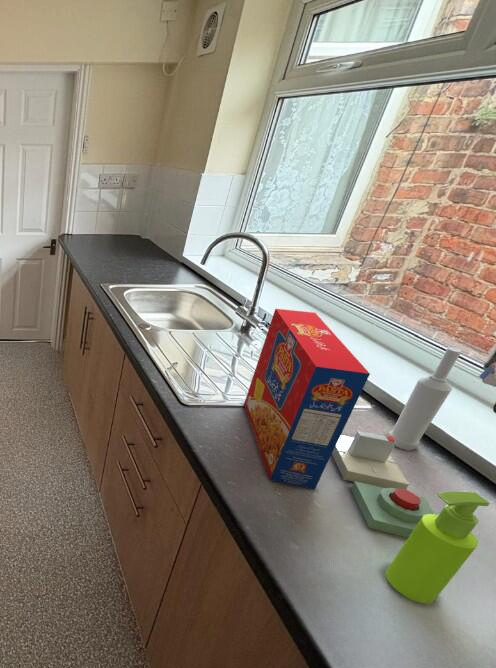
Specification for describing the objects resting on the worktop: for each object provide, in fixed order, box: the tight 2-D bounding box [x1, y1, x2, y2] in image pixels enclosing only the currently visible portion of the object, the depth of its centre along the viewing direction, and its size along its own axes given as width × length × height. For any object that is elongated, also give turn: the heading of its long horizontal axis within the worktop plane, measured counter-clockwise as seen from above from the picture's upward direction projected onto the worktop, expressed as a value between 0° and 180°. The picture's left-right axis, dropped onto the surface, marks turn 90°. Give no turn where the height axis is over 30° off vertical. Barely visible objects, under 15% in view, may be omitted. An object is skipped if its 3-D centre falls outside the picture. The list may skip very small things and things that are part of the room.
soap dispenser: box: [385, 491, 490, 604], centre depth 63 cm, size 6×7×20 cm
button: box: [391, 489, 421, 511], centre depth 77 cm, size 4×4×2 cm
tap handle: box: [348, 430, 396, 463], centre depth 88 cm, size 6×2×6 cm, turn 67°
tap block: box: [331, 434, 410, 490], centre depth 90 cm, size 13×10×3 cm
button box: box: [350, 481, 436, 539], centre depth 78 cm, size 11×10×4 cm
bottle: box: [387, 346, 463, 451], centre depth 91 cm, size 5×5×25 cm
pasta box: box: [243, 308, 371, 490], centre depth 92 cm, size 28×8×28 cm, turn 161°
